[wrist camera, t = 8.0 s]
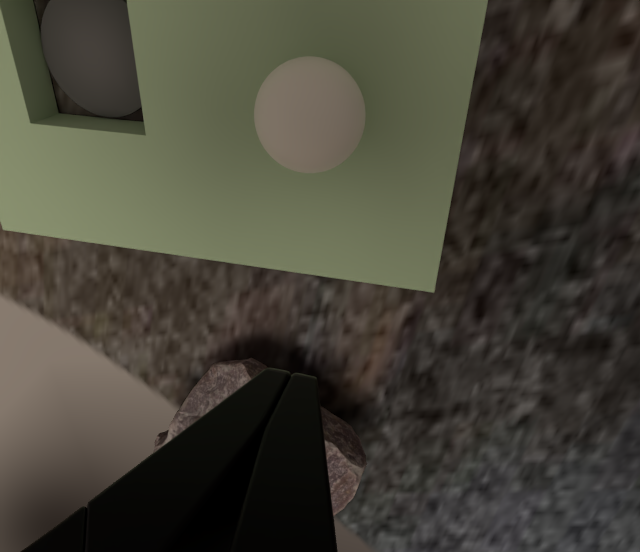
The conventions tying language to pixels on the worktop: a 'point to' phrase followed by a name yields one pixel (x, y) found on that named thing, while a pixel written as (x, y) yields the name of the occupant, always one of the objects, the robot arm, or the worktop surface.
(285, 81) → the ball
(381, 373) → the worktop surface
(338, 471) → the rock
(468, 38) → the board
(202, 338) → the worktop surface
